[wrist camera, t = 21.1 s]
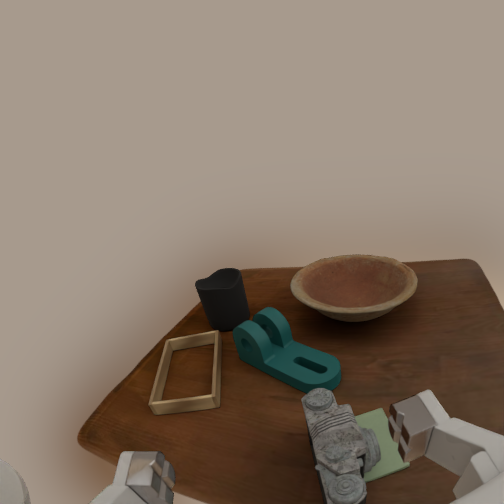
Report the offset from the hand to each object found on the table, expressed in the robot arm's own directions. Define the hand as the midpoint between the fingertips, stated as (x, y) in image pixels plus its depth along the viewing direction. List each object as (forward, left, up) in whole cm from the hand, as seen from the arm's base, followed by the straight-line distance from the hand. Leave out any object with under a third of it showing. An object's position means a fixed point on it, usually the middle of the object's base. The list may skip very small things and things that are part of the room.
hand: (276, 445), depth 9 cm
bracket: (+2, +33, -25) cm, 42 cm away
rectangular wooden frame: (-15, +36, -25) cm, 46 cm away
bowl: (+17, +44, -25) cm, 54 cm away
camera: (+5, +11, -25) cm, 27 cm away
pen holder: (-8, +52, -25) cm, 58 cm away
